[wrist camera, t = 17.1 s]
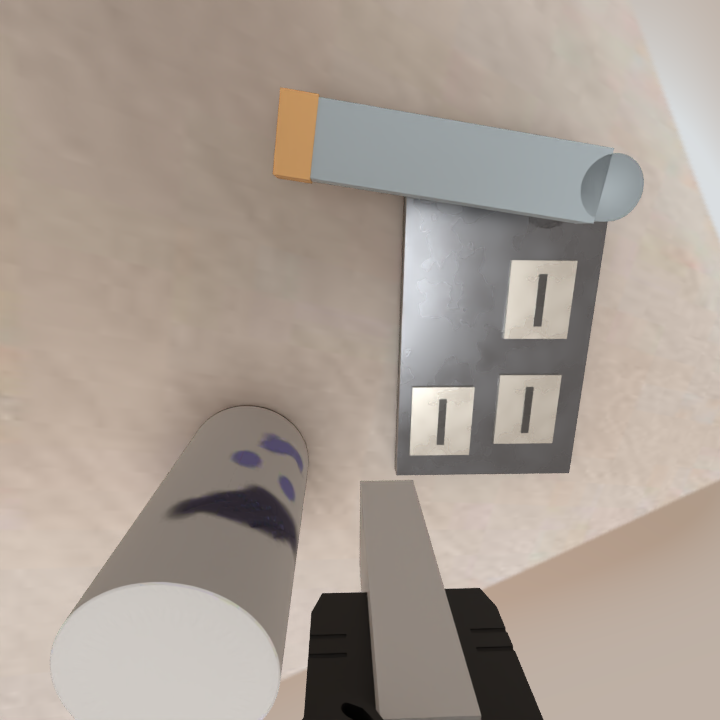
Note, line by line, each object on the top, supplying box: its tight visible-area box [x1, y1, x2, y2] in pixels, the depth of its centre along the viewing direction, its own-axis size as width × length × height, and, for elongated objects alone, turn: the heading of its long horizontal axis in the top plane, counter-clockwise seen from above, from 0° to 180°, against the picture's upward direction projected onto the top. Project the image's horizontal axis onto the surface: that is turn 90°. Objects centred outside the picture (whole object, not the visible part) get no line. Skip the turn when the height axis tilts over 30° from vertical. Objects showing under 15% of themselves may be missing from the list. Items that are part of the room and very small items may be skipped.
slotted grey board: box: [395, 197, 608, 475], centre depth 36 cm, size 24×15×2 cm, turn 179°
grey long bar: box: [273, 87, 644, 224], centre depth 26 cm, size 21×4×2 cm, turn 82°
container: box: [50, 406, 309, 720], centre depth 30 cm, size 10×10×20 cm
